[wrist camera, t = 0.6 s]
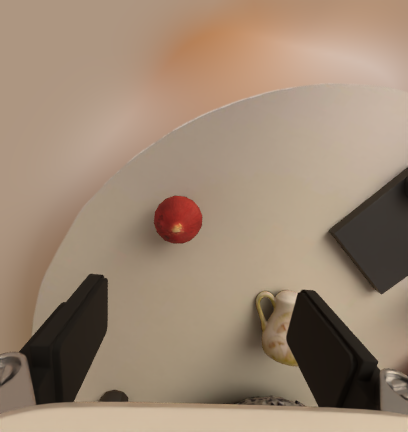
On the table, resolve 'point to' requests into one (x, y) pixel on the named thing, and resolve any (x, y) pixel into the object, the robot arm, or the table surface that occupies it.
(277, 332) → the mug
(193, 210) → the onion
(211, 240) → the table surface
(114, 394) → the wooden tabletop sculpture
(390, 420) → the robot arm
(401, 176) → the scale
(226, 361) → the table surface
